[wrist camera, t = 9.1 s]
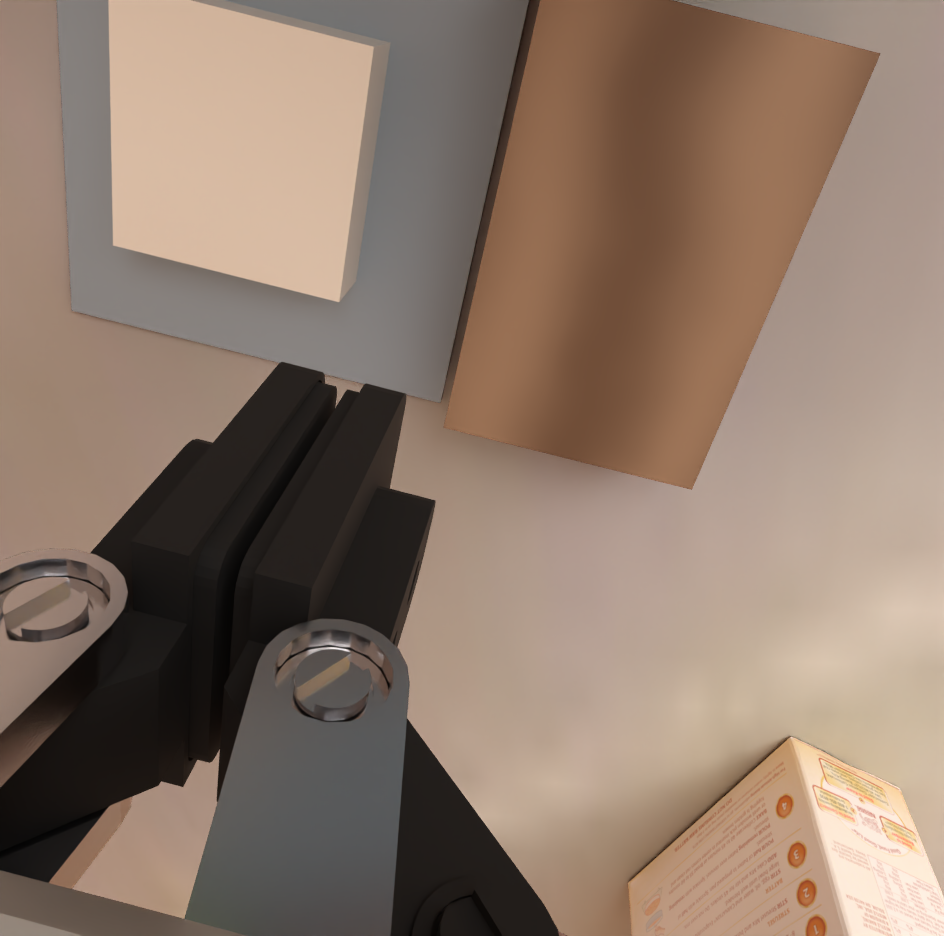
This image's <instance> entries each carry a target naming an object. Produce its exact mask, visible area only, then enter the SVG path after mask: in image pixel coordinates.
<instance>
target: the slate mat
mask: <svg viewBox="0 0 944 936" xmlns="http://www.w3.org/2000/svg"><path fill="white" fill-rule="evenodd" d="M225 1H229V2H233V3H237V4H241V5H244V6H248V7H252V8H256V9H260V10H264V11H268V12H272V13H276V14H280V15H284V16H288V17H292V18H296V19H299V20H303V21H307V22H311V23H315V24H319V25H323V26H327V27H331V28H335V29H339V30H343V31H347V32H351V33H355V34H358V35H362V36H366V37H370V38H374V39H378V40H382V41H386V42H390V50H389V57H388V64H387V71H386V78H385V85H384V92H383V99H382V106H381V112H380V119H379V126H378V133H377V140H376V147H375V154H374V161H373V168H372V175H371V181H370V188H369V195H368V202H367V209H366V216H365V223H364V230H363V237H362V244H361V251H360V257H359V264H358V271H357V278H356V282H355V283H354V284H353V286H352V287H351V288H350V289H349V291H348V292H347V293H346V294H345V296H344V297H343V298H342V299H341V301H340V302H336V301H332V300H328V299H324V298H320V297H316V296H312V295H308V294H304V293H300V292H296V291H293V290H289V289H285V288H281V287H277V286H273V285H269V284H265V283H261V282H257V281H253V280H249V279H245V278H241V277H237V276H233V275H229V274H225V273H221V272H217V271H213V270H209V269H205V268H201V267H197V266H193V265H189V264H185V263H181V262H177V261H173V260H169V259H165V258H161V257H157V256H153V255H149V254H145V253H141V252H137V251H133V250H129V249H125V248H121V247H117V246H113V215H112V163H111V110H110V58H109V5H108V0H57V21H58V41H59V62H60V82H61V103H62V123H63V144H64V164H65V185H66V206H67V226H68V247H69V267H70V288H71V308H72V311H75V312H79V313H83V314H87V315H91V316H94V317H98V318H102V319H106V320H110V321H114V322H118V323H122V324H126V325H130V326H134V327H138V328H142V329H146V330H150V331H154V332H158V333H162V334H166V335H170V336H174V337H178V338H182V339H186V340H190V341H194V342H198V343H202V344H206V345H210V346H214V347H218V348H222V349H226V350H230V351H234V352H238V353H242V354H246V355H250V356H254V357H258V358H262V359H266V360H270V361H274V362H278V363H281V362H286V363H290V364H293V365H297V366H301V367H305V368H309V369H313V370H317V371H321V372H323V373H324V374H326V375H330V376H334V377H338V378H342V379H346V380H350V381H354V382H358V383H362V384H365V383H367V384H371V385H375V386H379V387H382V388H386V389H390V390H394V391H398V392H402V393H406V395H410V396H414V397H418V398H422V399H426V400H430V401H434V402H438V403H440V402H441V399H442V395H443V390H444V386H445V381H446V377H447V372H448V367H449V363H450V358H451V354H452V349H453V345H454V340H455V336H456V331H457V327H458V322H459V317H460V313H461V308H462V304H463V299H464V295H465V290H466V286H467V281H468V277H469V272H470V267H471V263H472V258H473V254H474V249H475V245H476V240H477V236H478V231H479V227H480V222H481V217H482V213H483V208H484V204H485V199H486V195H487V190H488V186H489V181H490V177H491V172H492V167H493V163H494V158H495V154H496V149H497V145H498V140H499V136H500V131H501V127H502V122H503V118H504V113H505V108H506V104H507V99H508V95H509V90H510V86H511V81H512V77H513V72H514V68H515V63H516V58H517V54H518V49H519V45H520V40H521V36H522V31H523V27H524V22H525V18H526V13H527V8H528V4H529V0H225Z"/></svg>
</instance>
